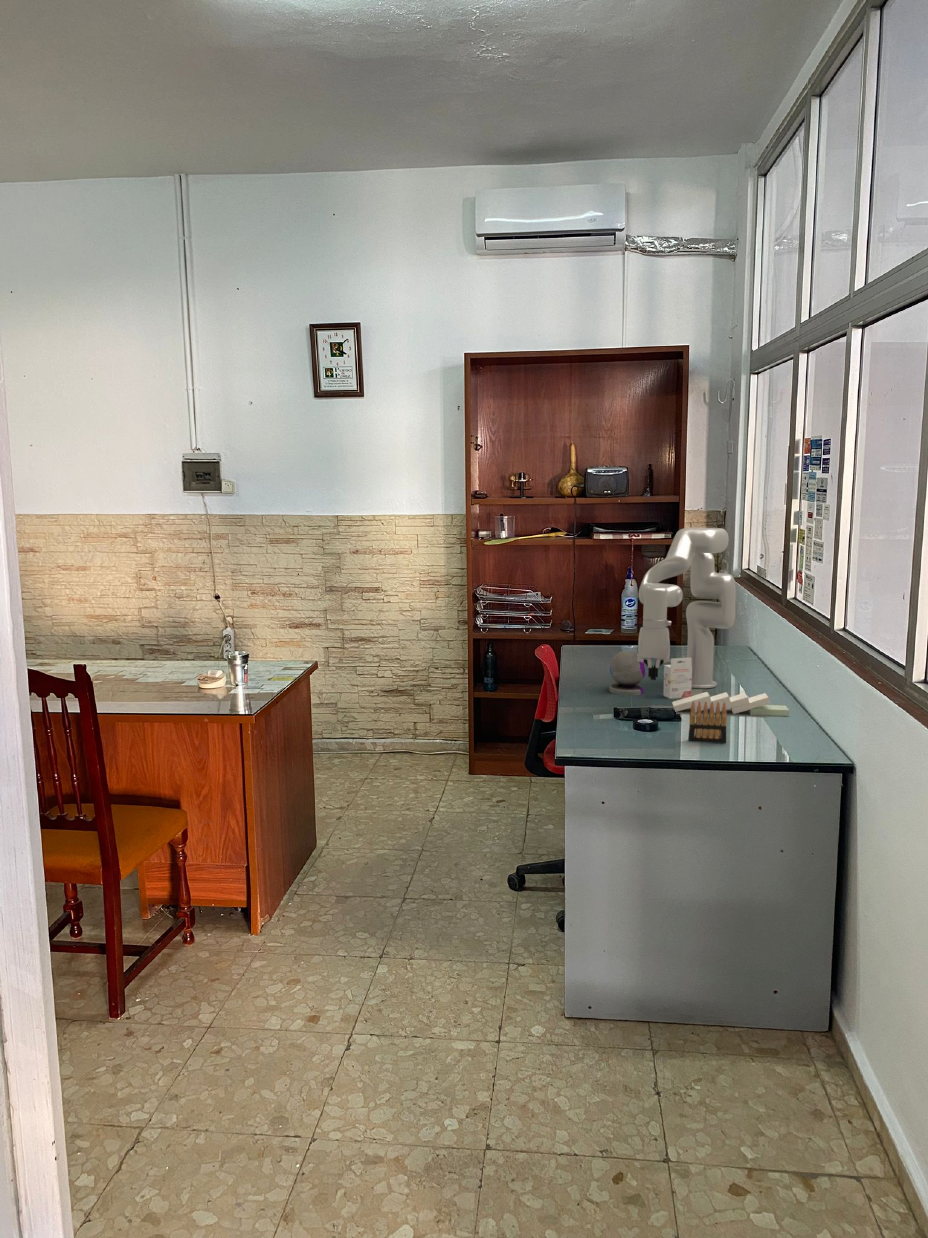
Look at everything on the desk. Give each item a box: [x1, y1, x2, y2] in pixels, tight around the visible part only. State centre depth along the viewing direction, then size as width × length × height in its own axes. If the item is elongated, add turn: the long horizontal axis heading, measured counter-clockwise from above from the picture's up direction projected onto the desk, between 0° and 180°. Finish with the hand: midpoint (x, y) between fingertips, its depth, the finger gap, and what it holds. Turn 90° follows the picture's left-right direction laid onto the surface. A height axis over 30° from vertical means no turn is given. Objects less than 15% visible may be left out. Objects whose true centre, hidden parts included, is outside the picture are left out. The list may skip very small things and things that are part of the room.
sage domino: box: [747, 704, 790, 717], centre depth 296 cm, size 2×6×12 cm
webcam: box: [608, 649, 647, 696], centre depth 328 cm, size 13×13×15 cm
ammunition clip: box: [688, 701, 728, 744], centre depth 265 cm, size 11×2×12 cm, turn 80°
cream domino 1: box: [672, 691, 711, 712], centre depth 299 cm, size 2×6×12 cm
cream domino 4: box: [731, 692, 771, 714], centre depth 296 cm, size 2×6×12 cm
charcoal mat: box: [650, 705, 767, 718], centre depth 299 cm, size 10×36×1 cm, turn 82°
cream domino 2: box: [695, 691, 731, 712], centre depth 298 cm, size 2×6×12 cm
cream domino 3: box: [714, 692, 749, 713], centre depth 297 cm, size 2×6×12 cm
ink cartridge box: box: [662, 657, 692, 699], centre depth 318 cm, size 9×5×15 cm, turn 105°
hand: (652, 679), depth 300 cm, fingers closed
